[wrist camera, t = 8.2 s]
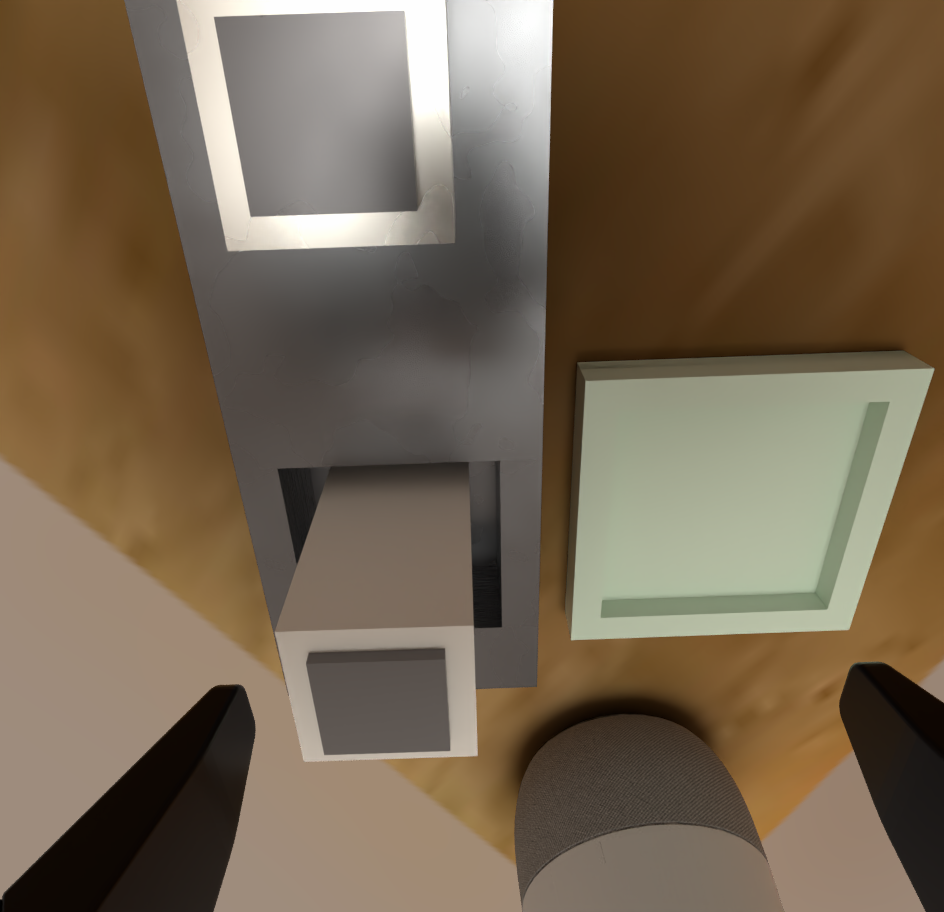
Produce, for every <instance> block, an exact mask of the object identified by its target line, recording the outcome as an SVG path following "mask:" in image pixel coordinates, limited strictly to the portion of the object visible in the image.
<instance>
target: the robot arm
mask: <svg viewBox="0 0 944 912" xmlns="http://www.w3.org/2000/svg"><path fill="white" fill-rule="evenodd" d="M839 708H840V714H841V718H842V721H843V723H844V726H845V729H846V731H847V734H848V736H849V739H850V742H851V744H852V747H853V750H854V752H855V755H856V757H857V760H858V763H859V765H860V768H861V770H862V773H863V776H864V778H865V781H866V784H867V786H868V789H869V792H870V794H871V797H872V800H873V802H874V805H875V807H876V810H877V812H878V814H879V817H880V819H881V822H882V824H883V826H884V828H885V830H886V832H887V835H888V836H889V839H890V841H891V843H892V845H893V847H894V849H895V851H896V853H897V855H898V857H899V859H900V861H901V863H902V865H903V867H904V869H905V871H906V873H907V875H908V877H909V879H910V881H911V883H912V885H913V887H914V889H915V891H916V893H917V895H918V897H919V899H920V901H921V903H922V905H923V907H924V909H925V911H926V912H944V703H943V702H942V701H940V700H939V699H937V698H936V697H934V696H933V695H931V694H930V693H928V692H927V691H926V690H924V689H923V688H921V687H920V686H918V685H917V684H915V683H914V682H912V681H911V680H910V679H908V678H907V677H905V676H904V675H902V674H901V673H899V672H898V671H896V670H895V669H894V668H892V667H891V666H889V665H887V664H885V663H882V662H858V663H854V664H853V665H852V666H851V667H850V670H849V673H848V676H847V679H846V682H845V685H844V688H843V691H842V694H841V698H840V703H839ZM254 739H255V720H254V716H253V713H252V710H251V707H250V704H249V700H248V697H247V694H246V691H245V689H244V687H243V686H241V685H237V684H236V685H218V686H215V687H213V688H211V689H210V690H209V691H208V692H207V693H206V694H205V695H204V696H203V697H202V698H201V699H200V700H199V701H198V702H197V703H196V704H195V705H194V706H193V707H192V708H191V709H190V710H189V711H188V712H187V713H186V714H185V715H184V716H183V717H182V718H181V719H180V720H179V721H178V722H177V723H176V724H175V725H174V726H173V727H172V728H171V729H170V730H169V731H168V732H167V733H166V734H165V735H164V736H162V738H160V739H159V740H158V741H157V742H156V743H155V744H154V745H153V746H152V747H151V749H149V750H148V751H147V752H146V753H145V755H143V756H142V757H141V758H140V759H139V760H138V761H137V762H136V763H135V764H134V765H133V766H132V767H131V768H130V769H129V770H128V771H127V772H126V773H125V774H124V775H123V776H122V777H121V778H120V779H119V780H118V781H117V782H116V783H115V784H114V785H113V786H112V787H111V788H110V789H109V790H108V791H107V792H106V793H105V794H104V795H103V796H102V797H101V798H100V799H99V800H98V801H97V802H96V803H95V804H94V805H93V806H92V807H91V808H90V809H89V810H88V811H87V812H85V813H84V814H83V815H82V816H81V817H80V818H79V819H78V820H77V821H76V822H75V823H74V824H73V825H72V826H71V827H70V828H69V829H68V830H67V831H66V832H65V833H64V834H63V835H62V836H61V837H60V838H59V839H58V840H57V841H56V842H55V843H54V844H53V845H52V846H51V847H50V848H49V849H48V850H47V851H46V852H45V853H44V854H43V855H42V856H41V857H40V858H39V859H38V860H37V861H36V862H35V863H34V864H33V865H32V866H31V867H30V868H29V869H28V870H27V871H26V872H25V873H24V874H23V875H22V876H21V877H20V878H19V879H18V880H17V881H16V882H15V883H14V884H13V885H12V886H10V888H8V890H7V891H5V892H4V894H3V896H2V900H1V899H0V912H213V911H214V908H215V905H216V901H217V898H218V895H219V891H220V888H221V885H222V881H223V878H224V875H225V872H226V868H227V865H228V862H229V859H230V855H231V851H232V847H233V844H234V840H235V836H236V831H237V826H238V822H239V816H240V811H241V806H242V801H243V796H244V791H245V785H246V780H247V775H248V770H249V765H250V760H251V755H252V749H253V744H254Z"/></svg>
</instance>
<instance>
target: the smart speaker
mask: <svg viewBox="0 0 944 912" xmlns="http://www.w3.org/2000/svg"><path fill="white" fill-rule="evenodd" d="M515 854H516V864H517V874H518V882H519V889H520V896H521V903H522V911H523V912H784V909H783V906H782V903H781V900H780V897H779V894H778V891H777V888H776V885H775V881H774V878H773V875H772V872H771V869H770V866H769V863H768V860H767V857H766V855H765V852H764V850H763V847H762V844H761V841H760V838H759V836H758V833H757V830H756V828H755V825H754V822H753V820H752V817H751V815H750V812H749V810H748V808H747V805H746V803H745V801H744V799H743V797H742V795H741V793H740V791H739V789H738V787H737V785H736V783H735V782H734V780H733V778H732V777H731V775H730V774H729V772H728V771H727V769H726V768H725V766H724V765H723V763H722V762H721V761H720V759H719V758H718V757H717V756H716V754H715V753H714V752H713V751H712V750H711V749H710V748H709V747H708V746H707V745H706V744H705V743H704V742H703V741H702V740H701V739H700V738H698V737H697V736H696V735H694V734H693V733H692V732H690V731H689V730H688V729H686V728H684V727H682V726H680V725H678V724H676V723H674V722H671V721H669V720H666V719H662V718H659V717H654V716H649V715H642V714H612V715H605V716H600V717H596V718H592V719H588V720H585V721H583V722H580V723H577V724H575V725H573V726H571V727H569V728H567V729H565V730H563V731H562V732H560V733H559V734H557V735H556V736H554V737H553V738H552V739H550V740H549V741H548V742H547V743H546V744H544V745H543V746H542V747H541V749H540V750H539V751H538V752H537V753H536V754H535V756H534V757H533V759H532V760H531V762H530V764H529V766H528V768H527V770H526V772H525V774H524V777H523V780H522V783H521V786H520V790H519V794H518V799H517V806H516V815H515Z"/></svg>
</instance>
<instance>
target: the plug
mask: <svg viewBox="0 0 944 912" xmlns="http://www.w3.org/2000/svg"><path fill="white" fill-rule="evenodd" d="M275 636H276V641H277V645H278V649H279V654H280V658H281V663H282V667H283V671H284V676H285V680H286V685H287V689H288V694H289V698H290V702H291V706H292V711H293V716H294V720H295V725H296V729H297V733H298V738H299V742H300V747H301V751H302V756H303V760H304V762H310V761H342V760H371V759H402V758H433V757H463V756H478V752H477V719H476V686H475V653H474V620H473V587H472V555H471V522H470V489H469V462H446V463H418V464H391V465H363V466H336V467H330V470H329V473H328V476H327V479H326V482H325V485H324V488H323V491H322V494H321V497H320V500H319V503H318V506H317V509H316V512H315V514H314V517H313V520H312V523H311V526H310V529H309V532H308V535H307V538H306V541H305V544H304V547H303V550H302V553H301V556H300V559H299V562H298V564H297V567H296V570H295V573H294V576H293V579H292V582H291V585H290V588H289V591H288V594H287V597H286V600H285V603H284V606H283V609H282V612H281V614H280V617H279V620H278V623H277V626H276V629H275Z"/></svg>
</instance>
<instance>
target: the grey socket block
mask: <svg viewBox="0 0 944 912" xmlns="http://www.w3.org/2000/svg"><path fill="white" fill-rule="evenodd" d="M124 1H125V6H126V10H127V14H128V18H129V22H130V27H131V31H132V35H133V39H134V44H135V48H136V52H137V56H138V61H139V65H140V69H141V73H142V78H143V82H144V86H145V90H146V94H147V99H148V103H149V107H150V111H151V116H152V120H153V124H154V128H155V133H156V137H157V141H158V145H159V150H160V154H161V158H162V162H163V166H164V171H165V175H166V179H167V183H168V188H169V192H170V196H171V200H172V205H173V209H174V213H175V217H176V221H177V226H178V230H179V234H180V238H181V243H182V247H183V251H184V255H185V260H186V264H187V268H188V272H189V277H190V281H191V285H192V289H193V293H194V298H195V302H196V306H197V310H198V315H199V319H200V323H201V327H202V332H203V336H204V340H205V344H206V349H207V353H208V357H209V361H210V365H211V370H212V374H213V378H214V382H215V387H216V391H217V395H218V399H219V404H220V408H221V412H222V416H223V421H224V425H225V429H226V433H227V437H228V442H229V446H230V450H231V454H232V459H233V463H234V467H235V471H236V476H237V480H238V484H239V488H240V493H241V497H242V501H243V505H244V509H245V514H246V518H247V522H248V526H249V531H250V535H251V539H252V543H253V548H254V552H255V556H256V560H257V565H258V569H259V573H260V577H261V581H262V586H263V590H264V594H265V598H266V603H267V607H268V611H269V615H270V620H271V624H272V628H273V632H274V637H275V641H276V636H275V629H276V626H277V623H278V620H279V617H280V614H281V612H282V609H283V606H284V603H285V600H286V597H287V594H288V591H289V588H290V585H291V582H292V579H293V576H294V573H295V570H296V567H297V564H298V562H299V559H300V556H301V553H302V550H303V547H304V544H305V541H306V538H307V535H308V532H309V529H310V526H311V523H312V520H313V517H314V514H315V512H316V509H317V506H318V503H319V500H320V497H321V494H322V491H323V488H324V485H325V482H326V479H327V476H328V473H329V470H330V467H336V466H363V465H391V464H418V463H446V462H469V489H470V522H471V555H472V587H473V620H474V653H475V686H476V689H488V688H515V687H537V659H538V616H539V574H540V532H541V490H542V448H543V405H544V363H545V321H546V279H547V237H548V194H549V152H550V110H551V68H552V26H553V0H124ZM276 645H277V641H276ZM277 649H278V645H277ZM278 653H279V649H278ZM279 658H280V654H279ZM280 662H281V658H280ZM281 666H282V663H281ZM282 670H283V667H282ZM283 675H284V671H283ZM284 679H285V676H284ZM285 683H286V680H285ZM286 687H287V685H286ZM287 692H288V689H287ZM288 695H289V694H288Z"/></svg>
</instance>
